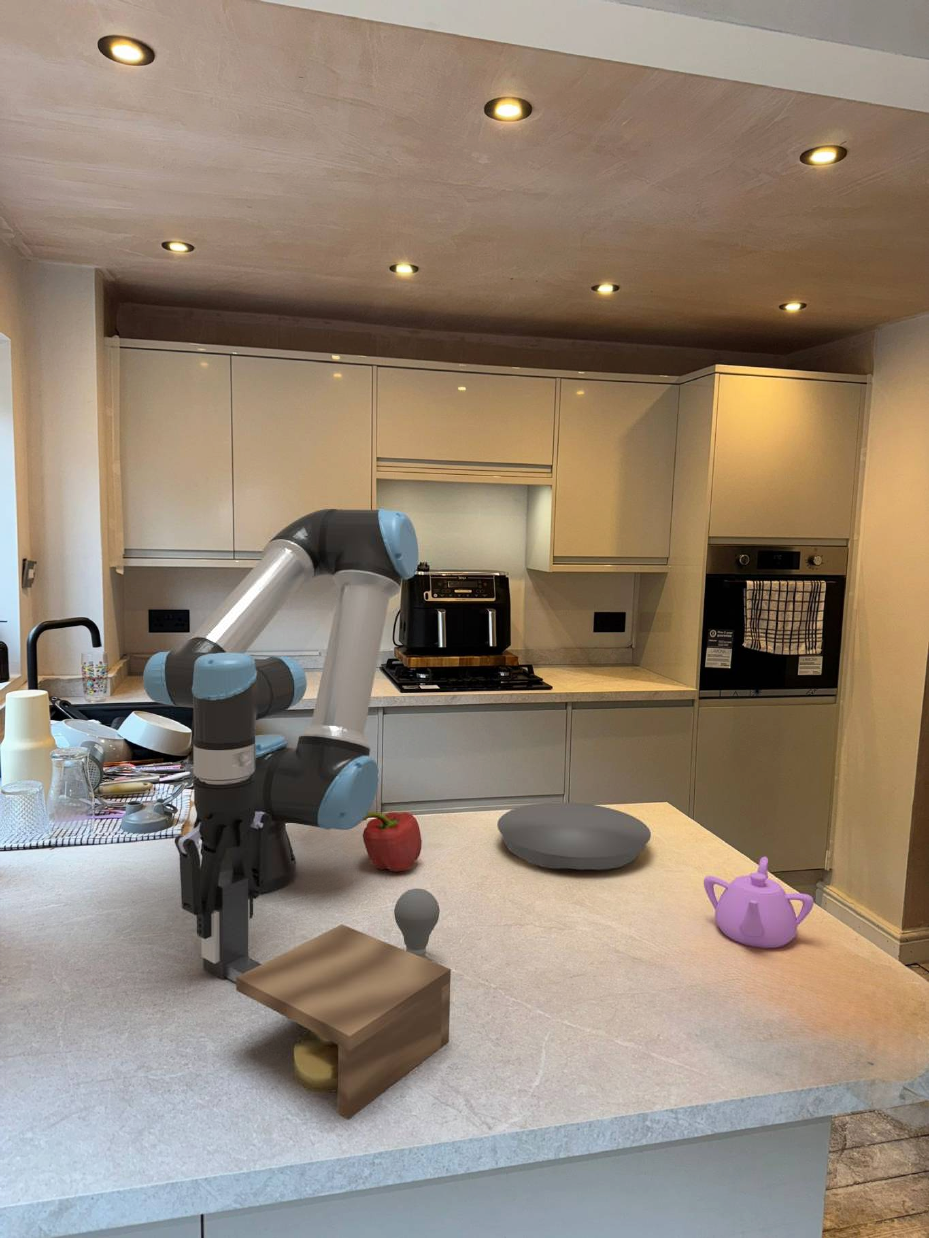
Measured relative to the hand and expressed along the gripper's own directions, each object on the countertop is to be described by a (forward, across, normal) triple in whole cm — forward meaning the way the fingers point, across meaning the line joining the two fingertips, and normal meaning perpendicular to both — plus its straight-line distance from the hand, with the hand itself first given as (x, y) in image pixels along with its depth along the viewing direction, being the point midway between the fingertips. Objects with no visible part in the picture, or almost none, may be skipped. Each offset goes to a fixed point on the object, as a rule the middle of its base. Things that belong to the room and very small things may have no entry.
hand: (225, 951), depth 107 cm
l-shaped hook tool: (+2, 0, -9) cm, 9 cm away
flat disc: (+3, +67, -14) cm, 68 cm away
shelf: (+2, -2, -24) cm, 24 cm away
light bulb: (+3, +17, -18) cm, 25 cm away
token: (+2, -6, -25) cm, 26 cm away
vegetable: (+3, +39, +6) cm, 39 cm away
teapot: (+3, +55, -51) cm, 75 cm away
